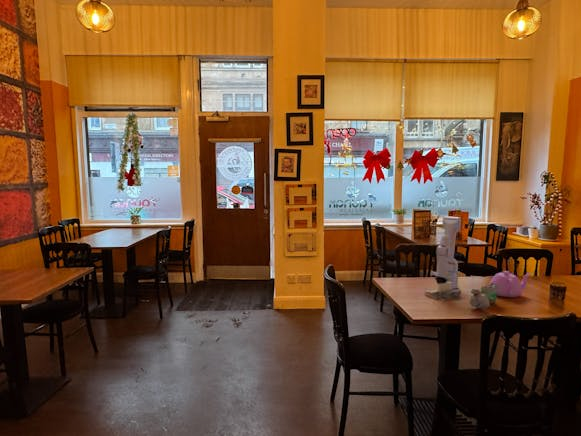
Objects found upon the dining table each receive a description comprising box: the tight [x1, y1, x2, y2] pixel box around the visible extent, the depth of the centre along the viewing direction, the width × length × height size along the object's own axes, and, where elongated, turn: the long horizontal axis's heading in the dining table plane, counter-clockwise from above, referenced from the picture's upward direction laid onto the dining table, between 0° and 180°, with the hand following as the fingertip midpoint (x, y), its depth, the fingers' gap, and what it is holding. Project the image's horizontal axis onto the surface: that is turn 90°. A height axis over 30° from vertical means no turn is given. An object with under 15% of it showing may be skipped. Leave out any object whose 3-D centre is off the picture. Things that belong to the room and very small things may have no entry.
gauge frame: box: [424, 288, 462, 302], centre depth 220 cm, size 16×14×4 cm
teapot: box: [488, 270, 532, 298], centre depth 223 cm, size 22×22×14 cm
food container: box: [480, 283, 499, 306], centre depth 207 cm, size 12×6×10 cm, turn 129°
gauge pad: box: [433, 282, 453, 294], centre depth 218 cm, size 14×2×7 cm, turn 117°
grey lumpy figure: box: [469, 287, 491, 310], centre depth 196 cm, size 10×10×12 cm
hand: (440, 289), depth 222 cm, fingers closed
